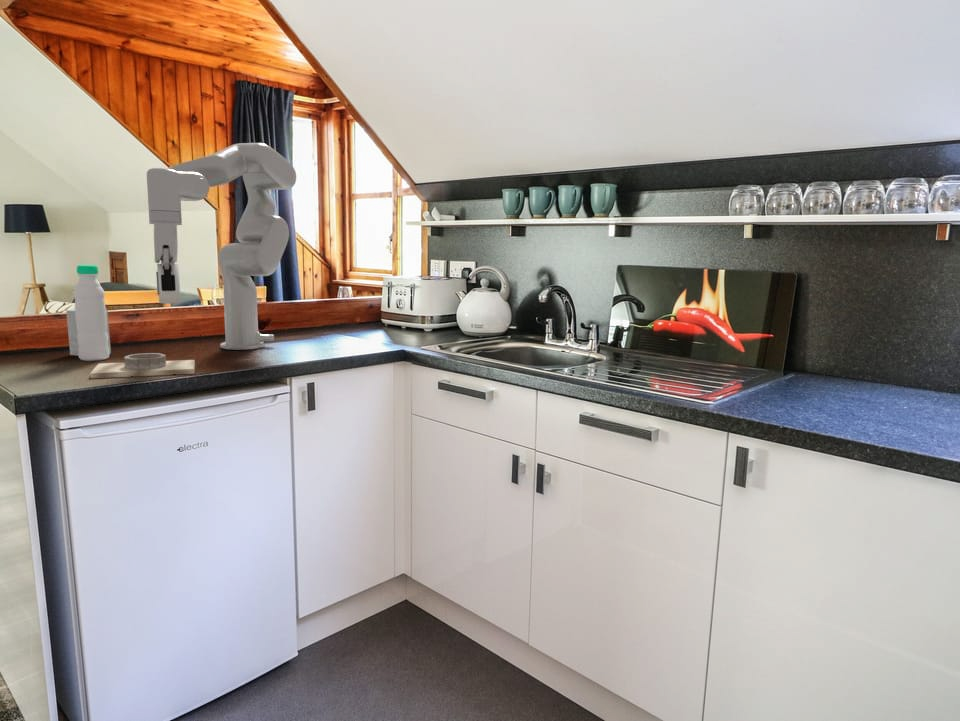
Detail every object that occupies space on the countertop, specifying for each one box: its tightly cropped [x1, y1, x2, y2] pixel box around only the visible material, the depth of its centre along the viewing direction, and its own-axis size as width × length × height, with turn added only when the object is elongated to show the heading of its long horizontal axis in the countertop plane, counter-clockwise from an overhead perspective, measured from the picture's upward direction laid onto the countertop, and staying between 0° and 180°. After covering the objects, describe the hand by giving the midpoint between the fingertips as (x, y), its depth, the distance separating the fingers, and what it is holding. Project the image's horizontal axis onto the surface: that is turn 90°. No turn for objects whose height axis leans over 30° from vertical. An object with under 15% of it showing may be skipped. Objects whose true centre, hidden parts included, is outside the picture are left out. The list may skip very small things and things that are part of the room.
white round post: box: [155, 263, 181, 304], centre depth 167 cm, size 5×5×10 cm
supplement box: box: [65, 308, 112, 357], centre depth 178 cm, size 7×7×13 cm
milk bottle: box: [73, 264, 110, 362], centre depth 171 cm, size 7×7×25 cm
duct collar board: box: [89, 352, 196, 379], centre depth 159 cm, size 22×13×4 cm, turn 113°
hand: (169, 289), depth 167 cm, fingers closed on white round post, 5 cm apart
